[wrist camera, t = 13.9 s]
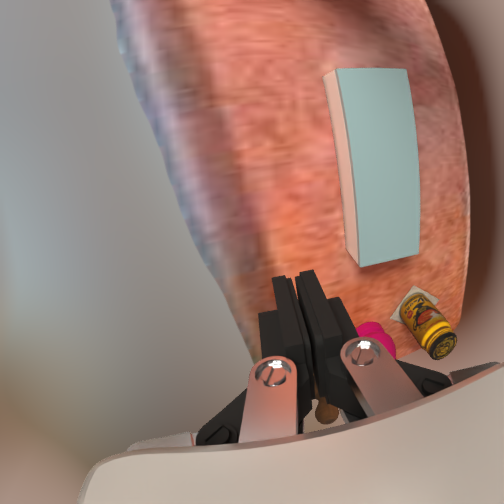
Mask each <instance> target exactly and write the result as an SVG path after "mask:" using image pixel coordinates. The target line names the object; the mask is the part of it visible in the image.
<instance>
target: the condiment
mask: <svg viewBox="0 0 504 504" xmlns="http://www.w3.org/2000/svg"><path fill="white" fill-rule="evenodd" d="M438 301H439V299H437V298H436V297H434V296H432V295H430V294H429V293H427V292H425V291H423V290H421V289H420V288H418V287H416V286H414V285H413V287H412V288H411V290H410V291H409V292H408V294H407V295H406V296H405V298H404V299H403V300H402V302H401V303H400V305H399V306H398V307H397V309H396V310H395V312H394V313H393V315H392V316H391V317H390V319H393V320H395V321H398V322H400V323H403V324H405V325H406V326H407V327H408V328H409V330H410V331H411V333H412V334H413V336H414V337H415V339H416V340H417V342H418V343H419V345H420V346H421V348H422V349H424V350H425V351H427V353H428V354H429V355H430V357H431V358H432V359H434V360H440V359H442V358H444V357H446V356H447V355H448V354H449V353H450V352H451V351H452V350H453V348H454V347H455V345H456V343H457V337H456V335H455V334H454V333H453V330H452V329H451V327H450V324H449V322H448V321H447V320H446V318H445V317H444V316H443V315H442V314H441V313H440V312H439V311H438V309H437V308H436V307H435V305H436V304H437V302H438Z"/></svg>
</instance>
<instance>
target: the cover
mask: <svg viewBox="0 0 504 504" xmlns="http://www.w3.org/2000/svg"><path fill="white" fill-rule="evenodd" d="M335 75H336V79H337V84H338V89H339V94H340V100H341V105H342V111H343V117H344V123H345V129H346V135H347V142H348V149H349V157H350V165H351V174H352V183H353V193H354V204H355V217H356V232H357V252H358V265H359V267H364V266H369V265H373V264H378V263H382V262H386V261H391V260H395V259H399V258H403V257H408V256H412V255H416V254H419V237H420V177H419V159H418V146H417V135H416V126H415V118H414V111H413V104H412V97H411V91H410V86H409V80H408V75H407V70H406V69H397V68H343V69H335Z"/></svg>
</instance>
